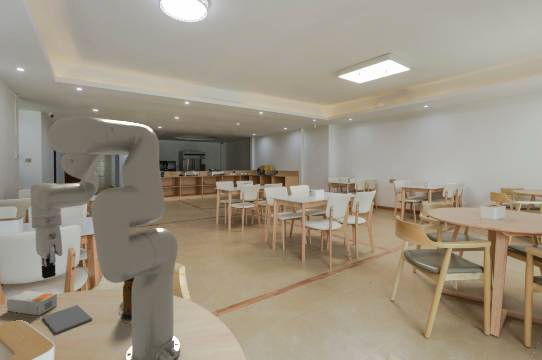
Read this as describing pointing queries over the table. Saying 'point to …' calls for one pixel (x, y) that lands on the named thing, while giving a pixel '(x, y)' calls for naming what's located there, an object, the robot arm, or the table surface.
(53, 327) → the mat
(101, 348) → the table surface
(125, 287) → the condiment
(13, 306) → the skincare box
